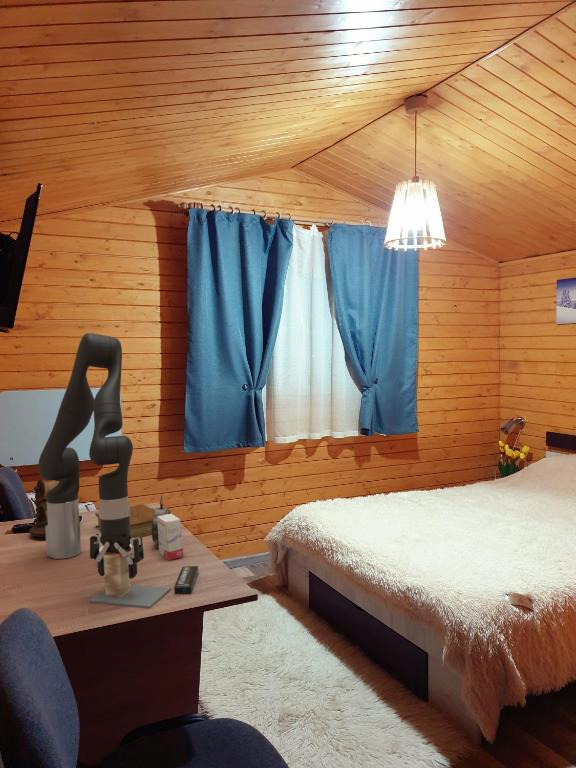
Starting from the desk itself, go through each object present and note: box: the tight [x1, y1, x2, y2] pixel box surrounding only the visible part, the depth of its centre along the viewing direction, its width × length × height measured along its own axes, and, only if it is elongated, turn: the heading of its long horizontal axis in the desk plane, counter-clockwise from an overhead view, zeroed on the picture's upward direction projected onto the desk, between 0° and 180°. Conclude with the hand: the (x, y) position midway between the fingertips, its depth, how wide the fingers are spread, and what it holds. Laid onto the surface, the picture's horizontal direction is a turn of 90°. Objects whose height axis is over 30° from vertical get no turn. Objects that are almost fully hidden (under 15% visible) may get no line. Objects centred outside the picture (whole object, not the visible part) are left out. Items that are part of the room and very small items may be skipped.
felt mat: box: [88, 584, 172, 609], centre depth 148 cm, size 17×11×1 cm, turn 74°
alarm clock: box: [151, 494, 172, 550], centre depth 187 cm, size 11×5×16 cm, turn 2°
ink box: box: [157, 513, 184, 561], centre depth 177 cm, size 9×5×12 cm, turn 31°
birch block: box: [104, 550, 132, 597], centre depth 149 cm, size 4×4×11 cm
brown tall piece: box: [28, 479, 60, 541], centre depth 202 cm, size 15×15×20 cm
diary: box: [95, 503, 155, 538], centre depth 206 cm, size 23×19×6 cm
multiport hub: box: [173, 565, 199, 595], centre depth 155 cm, size 4×14×2 cm, turn 2°
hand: (117, 576), depth 149 cm, fingers open, 8 cm apart
